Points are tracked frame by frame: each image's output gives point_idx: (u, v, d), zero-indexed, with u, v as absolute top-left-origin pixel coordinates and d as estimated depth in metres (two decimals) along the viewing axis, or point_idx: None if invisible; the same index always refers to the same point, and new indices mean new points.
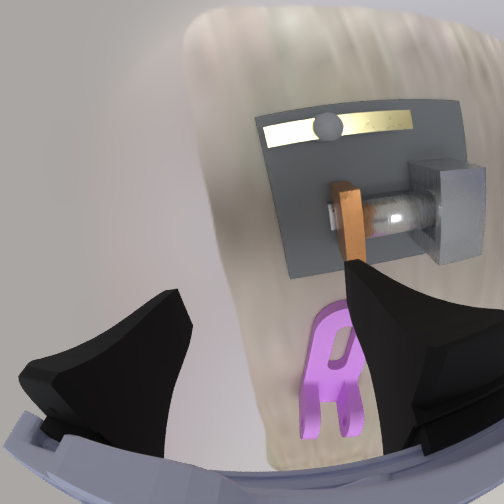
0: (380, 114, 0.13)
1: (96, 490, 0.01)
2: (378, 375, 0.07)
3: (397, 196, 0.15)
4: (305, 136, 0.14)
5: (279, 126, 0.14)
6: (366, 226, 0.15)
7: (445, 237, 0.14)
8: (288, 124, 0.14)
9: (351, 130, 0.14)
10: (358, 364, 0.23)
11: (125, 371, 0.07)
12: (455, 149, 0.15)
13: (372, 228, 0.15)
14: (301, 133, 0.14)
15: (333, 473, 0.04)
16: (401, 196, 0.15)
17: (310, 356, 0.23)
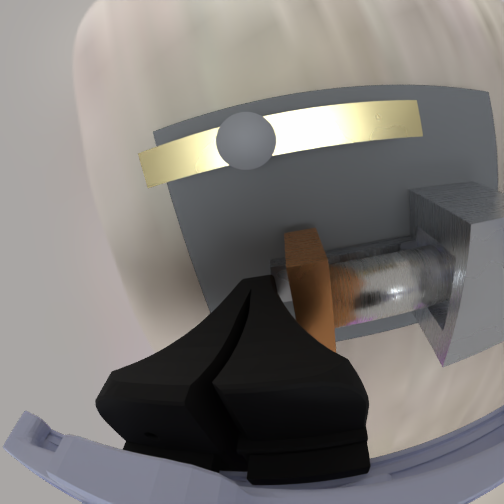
0: (358, 109, 0.07)
1: (96, 490, 0.01)
2: None
3: (400, 255, 0.09)
4: (208, 162, 0.08)
5: (162, 148, 0.08)
6: (340, 315, 0.09)
7: (460, 330, 0.07)
8: (177, 143, 0.08)
9: (299, 144, 0.07)
10: None
11: None
12: (483, 167, 0.09)
13: (351, 317, 0.09)
14: (200, 157, 0.08)
15: (333, 473, 0.04)
16: (407, 255, 0.09)
17: None
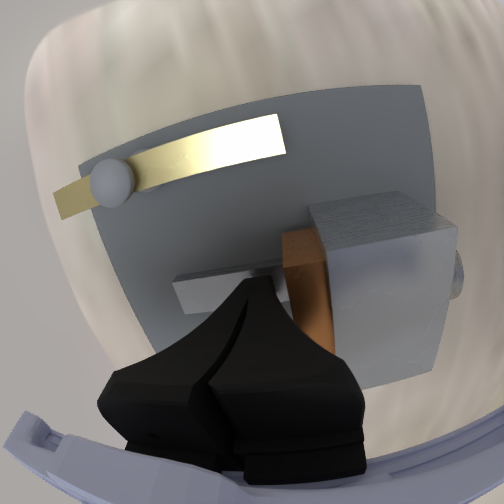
0: (208, 137, 0.08)
1: (96, 490, 0.01)
2: None
3: None
4: None
5: (66, 189, 0.09)
6: None
7: (346, 361, 0.08)
8: (74, 184, 0.08)
9: (156, 179, 0.08)
10: None
11: None
12: (411, 174, 0.10)
13: None
14: (89, 196, 0.09)
15: (334, 473, 0.04)
16: None
17: None
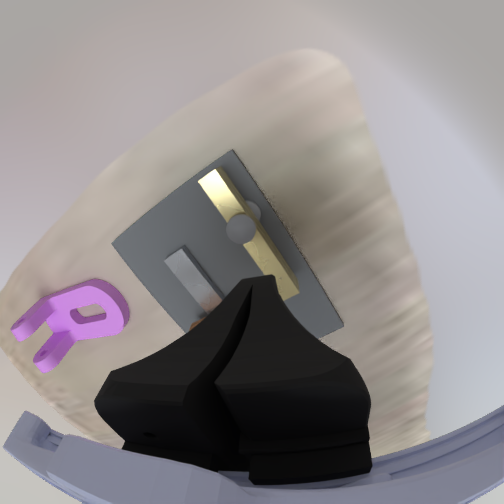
0: (279, 268, 0.16)
1: (96, 490, 0.01)
2: None
3: None
4: (223, 210, 0.15)
5: (222, 183, 0.15)
6: None
7: None
8: (227, 190, 0.15)
9: (249, 249, 0.16)
10: (86, 334, 0.24)
11: None
12: None
13: None
14: (224, 205, 0.15)
15: (333, 474, 0.04)
16: None
17: (67, 292, 0.22)
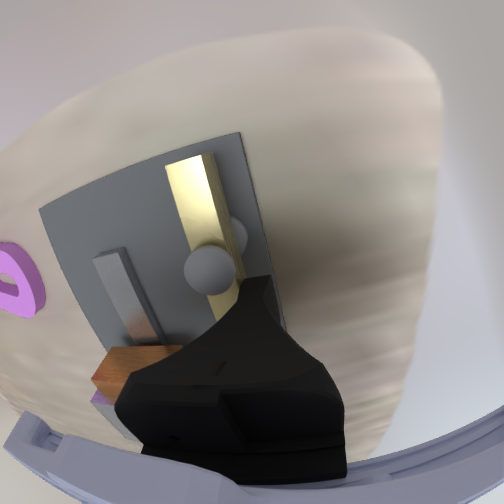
0: None
1: (96, 490, 0.01)
2: None
3: None
4: (191, 229, 0.09)
5: (204, 183, 0.08)
6: None
7: None
8: (209, 199, 0.08)
9: (213, 300, 0.10)
10: None
11: None
12: None
13: None
14: (195, 222, 0.09)
15: (334, 473, 0.04)
16: None
17: None
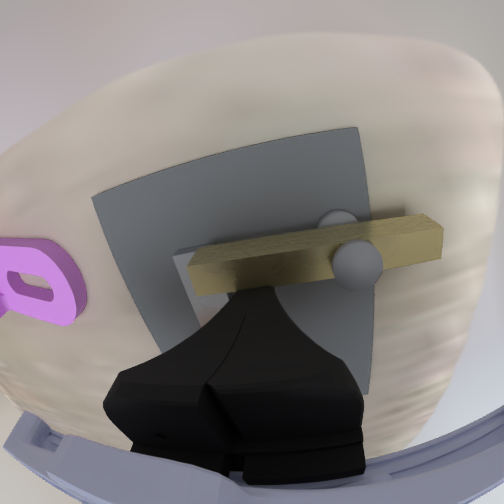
0: (253, 284, 0.09)
1: (96, 490, 0.01)
2: None
3: None
4: (390, 242, 0.08)
5: (421, 259, 0.08)
6: None
7: None
8: (409, 262, 0.08)
9: (310, 253, 0.09)
10: (22, 308, 0.14)
11: None
12: None
13: None
14: (395, 247, 0.08)
15: (333, 473, 0.04)
16: None
17: (9, 247, 0.12)
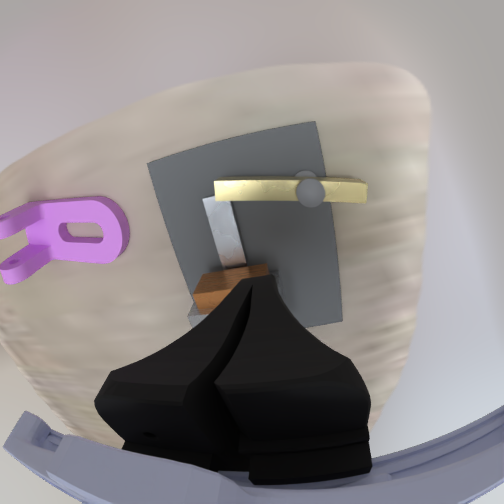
0: (250, 197, 0.16)
1: (96, 490, 0.01)
2: None
3: None
4: (332, 185, 0.15)
5: (352, 200, 0.15)
6: None
7: None
8: (344, 200, 0.15)
9: (285, 183, 0.15)
10: (68, 255, 0.21)
11: None
12: (296, 318, 0.22)
13: None
14: (335, 189, 0.15)
15: (334, 473, 0.04)
16: None
17: (67, 202, 0.19)
